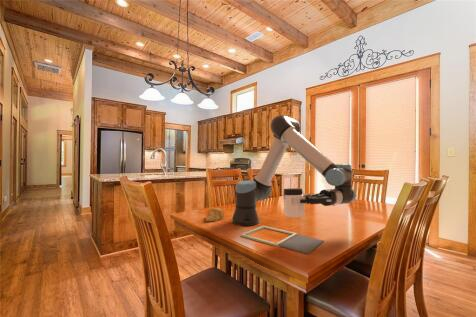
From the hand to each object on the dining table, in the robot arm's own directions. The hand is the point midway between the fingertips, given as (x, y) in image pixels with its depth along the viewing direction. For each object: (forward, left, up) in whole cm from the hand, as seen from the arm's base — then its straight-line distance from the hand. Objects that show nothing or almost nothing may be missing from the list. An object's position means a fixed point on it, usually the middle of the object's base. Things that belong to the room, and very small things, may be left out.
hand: (292, 201), depth 96 cm
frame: (-14, +4, -18) cm, 23 cm away
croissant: (-56, +10, -19) cm, 60 cm away
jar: (-2, +5, -8) cm, 9 cm away
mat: (+3, +4, -18) cm, 19 cm away
